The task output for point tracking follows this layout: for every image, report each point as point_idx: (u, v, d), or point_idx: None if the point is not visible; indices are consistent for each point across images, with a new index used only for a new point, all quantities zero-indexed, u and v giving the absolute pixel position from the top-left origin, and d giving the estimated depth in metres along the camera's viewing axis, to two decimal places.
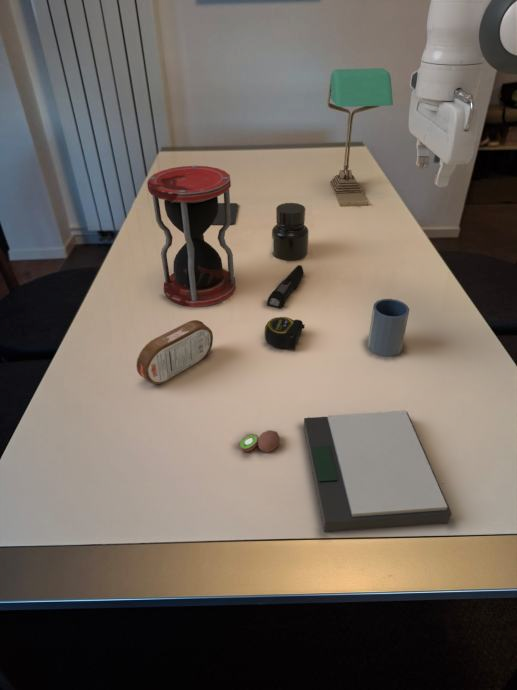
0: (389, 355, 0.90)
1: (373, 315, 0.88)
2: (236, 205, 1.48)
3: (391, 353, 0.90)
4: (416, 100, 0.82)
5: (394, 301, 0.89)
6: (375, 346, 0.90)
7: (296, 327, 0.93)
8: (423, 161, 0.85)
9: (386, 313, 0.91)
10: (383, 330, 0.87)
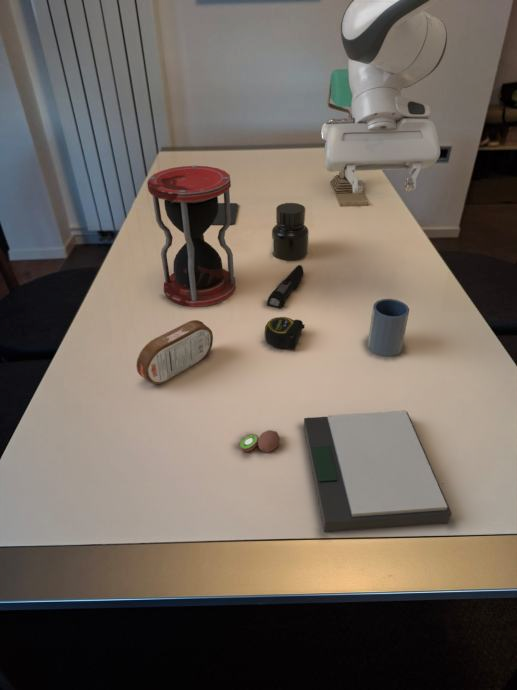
0: (389, 355, 0.90)
1: (373, 315, 0.88)
2: (236, 205, 1.48)
3: (391, 353, 0.90)
4: None
5: (394, 301, 0.89)
6: (375, 346, 0.90)
7: (296, 328, 0.93)
8: (406, 184, 0.88)
9: (386, 313, 0.91)
10: (383, 330, 0.87)
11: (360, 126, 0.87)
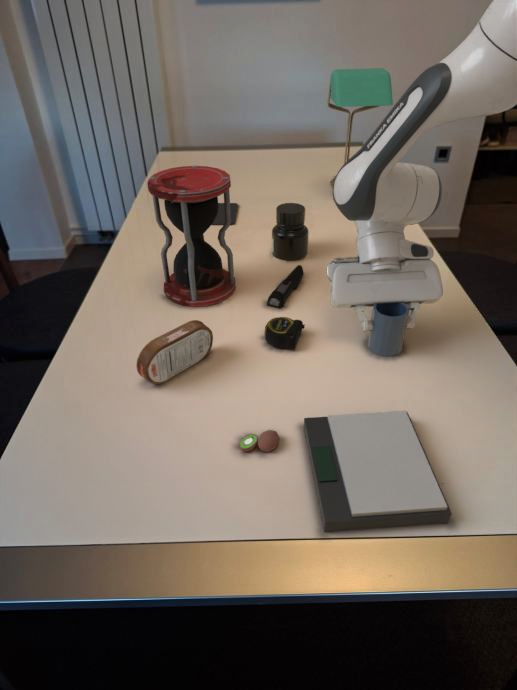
0: (389, 355, 0.90)
1: (373, 315, 0.88)
2: (236, 205, 1.48)
3: (391, 353, 0.90)
4: None
5: None
6: (375, 346, 0.90)
7: (296, 328, 0.93)
8: None
9: (386, 313, 0.91)
10: (383, 330, 0.87)
11: (365, 267, 0.89)
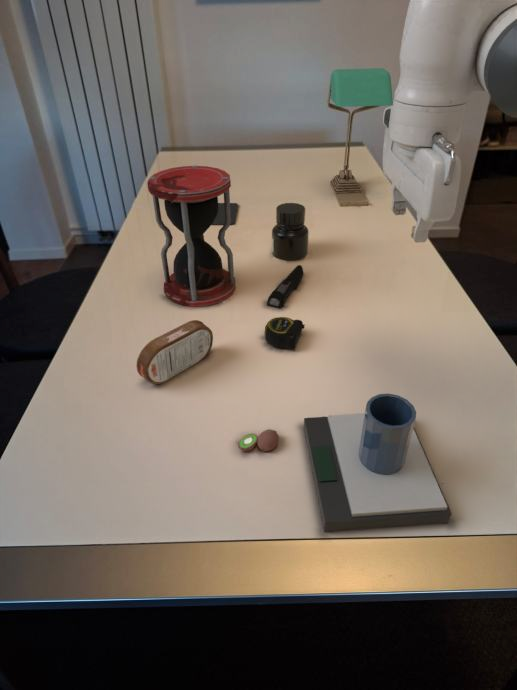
0: (388, 471, 0.65)
1: (366, 419, 0.63)
2: (236, 205, 1.48)
3: (391, 469, 0.65)
4: (390, 139, 0.71)
5: (395, 398, 0.65)
6: (369, 459, 0.65)
7: (296, 328, 0.93)
8: (399, 207, 0.74)
9: (384, 411, 0.67)
10: (379, 441, 0.62)
11: None
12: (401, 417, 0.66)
